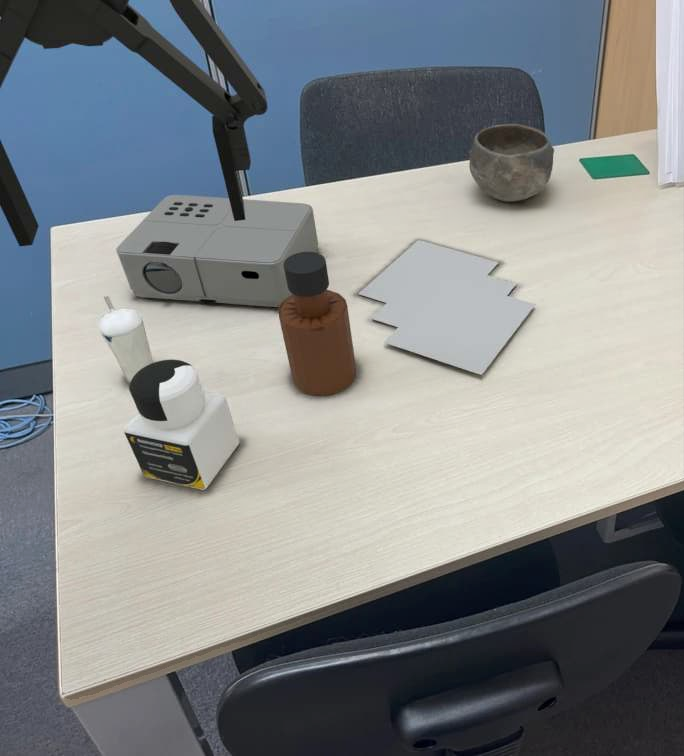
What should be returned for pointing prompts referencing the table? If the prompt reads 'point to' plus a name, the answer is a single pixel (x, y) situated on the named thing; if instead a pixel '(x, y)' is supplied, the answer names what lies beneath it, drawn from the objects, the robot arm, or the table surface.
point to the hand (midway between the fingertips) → (138, 223)
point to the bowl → (511, 161)
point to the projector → (216, 250)
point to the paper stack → (447, 306)
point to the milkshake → (126, 339)
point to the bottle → (318, 342)
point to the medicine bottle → (179, 425)
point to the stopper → (306, 274)
